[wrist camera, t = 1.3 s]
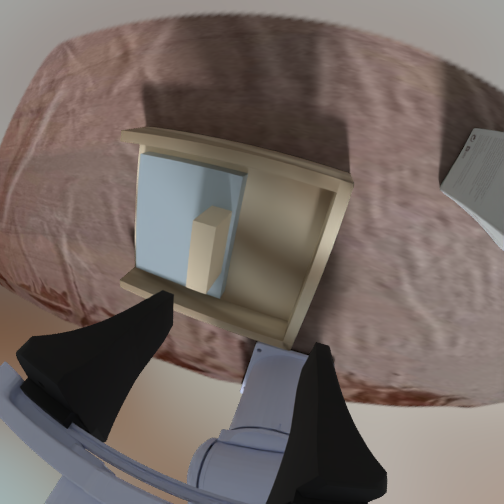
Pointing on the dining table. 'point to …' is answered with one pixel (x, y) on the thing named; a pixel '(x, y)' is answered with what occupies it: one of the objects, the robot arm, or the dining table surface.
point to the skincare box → (480, 181)
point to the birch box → (257, 236)
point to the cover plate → (187, 220)
